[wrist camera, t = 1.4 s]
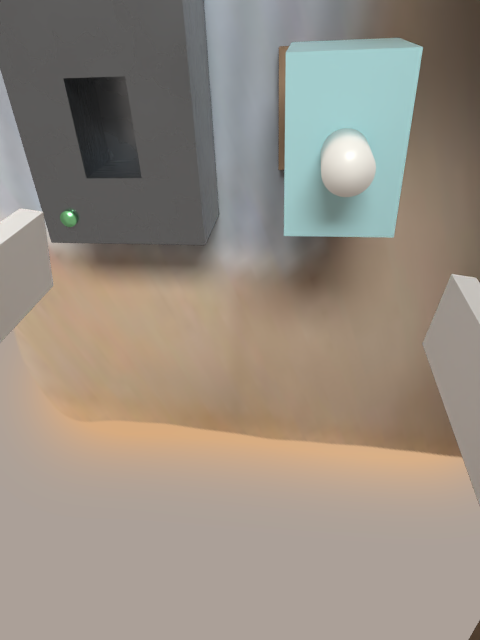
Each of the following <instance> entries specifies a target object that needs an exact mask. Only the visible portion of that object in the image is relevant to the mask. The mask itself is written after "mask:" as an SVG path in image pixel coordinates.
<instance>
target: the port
mask: <svg viewBox="0 0 480 640" xmlns="http://www.w3.org/2000/svg"><path fill="white" fill-rule="evenodd" d="M0 69H1V73H2V76H3V79H4V83H5V86H6V89H7V93H8V96H9V100H10V103H11V106H12V110H13V113H14V116H15V120H16V123H17V127H18V130H19V133H20V137H21V140H22V144H23V147H24V150H25V154H26V157H27V160H28V164H29V167H30V171H31V174H32V177H33V181H34V184H35V188H36V191H37V194H38V198H39V201H40V204H41V208H42V211H43V214H44V218H45V221H46V225H47V228H48V232H49V235H50V238H51V242H53V243H113V244H173V245H206V242H207V240H208V238H209V236H210V233H211V231H212V229H213V227H214V225H215V222H216V220H217V218H218V216H219V206H218V192H217V178H216V164H215V150H214V136H213V123H212V109H211V95H210V81H209V67H208V53H207V40H206V26H205V12H204V0H0Z"/></svg>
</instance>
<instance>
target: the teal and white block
mask: <svg viewBox="0 0 480 640" xmlns="http://www.w3.org/2000/svg"><path fill="white" fill-rule="evenodd" d="M422 51H423V47H422V46H419V45H417V44H414V43H412V42H409V41H406V40H404V39H401V38H378V39H355V40H331V41H308V42H292V43H291V44H290V46H289V48H288V50H287V51H286V76H285V174H284V236H325V237H394V232H395V226H396V219H397V213H398V206H399V200H400V193H401V187H402V180H403V174H404V167H405V161H406V154H407V148H408V141H409V135H410V128H411V122H412V115H413V109H414V103H415V96H416V90H417V83H418V77H419V70H420V64H421V57H422Z"/></svg>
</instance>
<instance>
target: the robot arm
mask: <svg viewBox="0 0 480 640" xmlns="http://www.w3.org/2000/svg"><path fill="white" fill-rule="evenodd" d="M52 286H53V279H52V272H51V265H50V257H49V250H48V243H47V236H46V228H45V221H44V214H43V212H41V211H34V210H28V209H21V208H20V209H19V210H17V211H16V212H14V213H13V214H11V215H10V216H8V217H7V218H6V219H4V220H3V221H1V222H0V343H1V342H2V341H3V340H4V339H5V337H6V336H7V335H8V334H9V333H10V332H11V331H12V330H13V329H14V328H15V327H16V326H17V324H18V323H19V322H20V321H21V320H22V319H23V318H24V317H25V316H26V315H27V314H28V313H29V311H30V310H31V309H32V308H33V307H34V306H35V305H36V304H37V303H38V302H39V301H40V300H41V298H42V297H43V296H44V295H45V294H46V293H47V292H48V291H49V290H50V289H51V288H52ZM422 344H423V347H424V350H425V353H426V356H427V358H428V361H429V364H430V367H431V370H432V373H433V375H434V378H435V381H436V384H437V387H438V390H439V392H440V395H441V398H442V401H443V404H444V407H445V409H446V412H447V415H448V418H449V421H450V424H451V426H452V429H453V432H454V435H455V438H456V441H457V443H458V446H459V449H460V452H461V455H462V458H463V460H464V463H465V466H466V469H467V472H468V475H469V477H470V480H471V483H472V486H473V489H474V491H475V494H476V497H477V500H478V503H479V506H480V283H479V281H478V280H477V278H475V277H469V276H462V275H455V274H451V276H450V279H449V281H448V284H447V286H446V288H445V291H444V293H443V296H442V298H441V300H440V303H439V305H438V307H437V310H436V312H435V315H434V317H433V319H432V322H431V324H430V326H429V329H428V331H427V334H426V336H425V338H424V341H423V343H422ZM469 640H480V621H479V623H478V624H477V626H476V628H475V630H474V631H473V633H472V635H471V636H470V638H469Z"/></svg>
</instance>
